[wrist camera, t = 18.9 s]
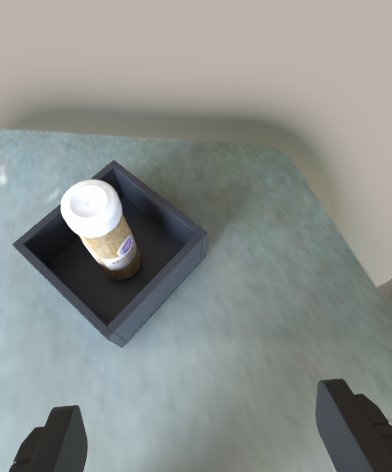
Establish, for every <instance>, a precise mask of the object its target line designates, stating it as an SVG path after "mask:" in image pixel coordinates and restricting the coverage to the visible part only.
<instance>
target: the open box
mask: <svg viewBox="0 0 392 472" xmlns="http://www.w3.org/2000/svg"><path fill="white" fill-rule="evenodd" d="M92 179H94V180H101V181H104V182H106V183H108V184H109V185H111V186H112V187H113V188H114V190H115V191H116V193H117V195H118V197H119V200H120V202H121V205H122V213H123V215H124V218H125V220H126V222H127V224H128V227H129V228H130V230H131V233H132V235H133V238H134V240H135V243H136V247H137V249H138V250H139V252H140V254H141V264H140V268H139V269H138V271H137V272H136V273H135V274H133V275H132V276H131V277H129V278H126V279H121V280H117V279H113V278H111V277H109V276H108V275H107V274H106V273H105V272H104V270H103V268H102V266H101V265H99V263H98V262H97V261H96V260H95V258H94V257H93V256H92V254H91V253H90V252H89V250H88V249H87V248H86V246H85V245H84V243H83V242H82V239H81V238H80V236H79V235H78V234H77V233H75V232H74V231H73V230H72V229H71V228H70V227H69V225H68V224H67V222H66V221H65V219H64V218H63V216H62V213H61V204H60V205H59V206H58V207H57V208H55V209H54V210H53V211H52V212H51V213H49V214H48V215H47V216H46V217H44V218H43V219H42V220H41V221H40V222H38V223H37V224H36V225H35V226H34V227H32V228H31V229H30V230H29V231H28V232H26V233H25V234H24V235H23V236H22V237H20V238H19V240H17V241H16V242H15V243H13V244H12V245H13V246H14V247H15V248H16V249H17V250H18V251H19V252H20V253H21V254H22V255H23V256H24V257H25V258H26V259H27V260H28V261H29V262H30V263H31V264H32V265H33V266H34V267H35V268H36V269H37V270H38V271H39V272H40V273H41V274H42V275H43V276H44V277H45V278H46V279H47V280H48V281H49V282H50V283H51V284H52V285H53V286H54V287H55V288H56V289H57V290H58V291H59V292H60V293H61V294H62V295H63V296H64V297H65V298H66V299H67V300H68V301H69V302H70V303H71V304H72V305H73V306H74V307H75V308H76V309H77V310H78V311H79V312H80V313H81V314H82V315H83V316H84V317H85V318H86V319H87V320H88V321H89V322H90V323H91V324H92V325H93V326H94V327H95V328H96V329H97V330H98V331H99V332H100V333H101V334H102V335H103V336H104V337H105V338H106V339H107V340H109V341H111V342H113V343H114V344H116V345H118V346H120V347H121V348H122V347H123V346H124V345H125V344H126V343H127V342H128V341H129V340H130V339H131V338H132V336H133V335H134V334H135V333H136V332H137V331H138V330H139V329H140V328H141V327H142V326H143V324H144V323H145V322H146V321H147V320H148V319H149V318H150V317H151V316H152V315H153V314H154V312H155V311H156V310H157V309H158V308H159V307H160V306H161V305H162V304H163V303H164V302H165V300H166V299H167V298H168V297H169V296H170V295H171V294H172V293H173V292H174V291H175V290H176V288H177V287H178V286H179V285H180V284H181V283H182V282H183V281H184V280H185V279H186V278H187V276H188V275H189V274H190V273H191V272H192V271H193V270H194V269H195V268H196V267H197V266H198V264H199V263H200V262H201V261H202V260H203V259H204V258H205V253H206V241H207V232H206V231H205V230H203V229H202V228H201V227H199V226H198V225H197V224H196V223H194V222H193V221H192V220H190V219H189V218H188V217H187V216H185V215H184V214H183V213H181V212H180V211H179V210H178V209H176V208H175V207H174V206H172V205H171V204H170V203H169V202H167V201H166V200H165V199H163V198H162V197H161V196H160V195H158V194H157V193H156V192H154V191H153V190H152V189H151V188H149V187H148V186H147V185H145V184H144V183H143V182H142V181H140V180H139V179H138V178H136V177H135V176H134V175H133V174H131V173H130V172H129V171H127V170H126V169H125V168H123V167H122V166H121V165H120V164H118V163H117V162H116V161H114V160H113V161H112V162H111V163H110V164H108V165H107V166H106V167H105V168H103V169H102V170H101V171H100V172H99V173H97V174H96V175H95V176H94V177H93V178H91V179H90V180H92Z"/></svg>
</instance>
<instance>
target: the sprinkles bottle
mask: <svg viewBox="0 0 392 472" xmlns="http://www.w3.org/2000/svg"><path fill="white" fill-rule="evenodd" d="M61 213H62V216H63V218H64V219H65V221H66V222H67V224H68V225H69V227H70V228H71V229H72V230H73V231H74V232H75V233H77V234H78V235H79V236H80V238H81V239H82V242H83V243H84V245H85V246H86V248H87V249H88V250H89V252H90V253H91V254H92V256H93V257H94V258H95V260H96V261H97V262H98V263H99V265H101V266H102V268H103V270H104V272H105V273H106V274H107V275H108V276H109V277H111V278H113V279H117V280H121V279H126V278H129V277H131V276H132V275H133V274H135V273H136V272H137V271H138V269H139V268H140V264H141V254H140V252H139V250H138V249H137V247H136V243H135V240H134V238H133V235H132V233H131V230H130V228H129V227H128V224H127V222H126V220H125V218H124V215H123V213H122V205H121V202H120V200H119V197H118V195H117V193H116V191H115V190H114V188H113V187H112V186H111V185H109V184H108V183H106V182H104V181H101V180H94V179H92V180H84V181H81V182H79V183H77V184H75V185H73V186H72V187H71V188H70V189H69V190H68V191H67V192H66V193H65V195H64V196H63V199H62V202H61Z"/></svg>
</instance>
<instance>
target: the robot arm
mask: <svg viewBox="0 0 392 472" xmlns="http://www.w3.org/2000/svg"><path fill="white" fill-rule="evenodd" d="M315 415H316V423H317V427H318V431H319V433H320V436H321V438H322V440H323V442H324V445H325V447H326V449H327V451H328V453H329V456H330V458H331V460H332V462H333V464H334V466H335V469H336V471H337V472H392V426H391V425H389V423H388V420H387V419H386V418H385V416H384V415H383V413H382V412H381V410H380V409H379V408H378V406H377V405H375V404H374V403H373V402H372V401H370V400H369V399H368V398H367V397H366V396H364V395H363V394H356V395H354V394H353V393H352V391H351V389H350V388H349V386H348V385H347V383H346V382H345V381H344V380H343V379H331V380H322V381H319V382H318V388H317V401H316V414H315ZM87 447H88V444H87V436H86V432H85V428H84V424H83V420H82V416H81V412H80V408H79V406H78V405H74V406H64V407H55V408H53V409H52V410H51V412H50V415H49V417H48V420H47V422H46V425H45V427H37V428H35V429H34V430H33V431H32V432H31V433H30V434H29V436H28V437H27V438H26V439H25V440H24V441H23V443H22V444H21V446H20V448H19V450H18V453H17V455H16V457H15V459H14V461H13V462H14V463H13V465H12V466H11V468H10V470H9V472H83V470H84V466H85V462H86V457H87Z"/></svg>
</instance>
